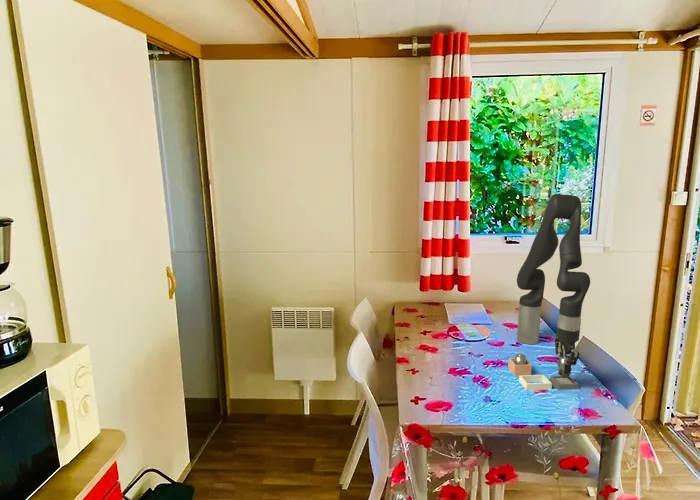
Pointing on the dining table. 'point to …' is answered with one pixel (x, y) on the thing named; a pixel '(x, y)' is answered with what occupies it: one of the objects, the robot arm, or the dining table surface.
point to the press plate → (563, 380)
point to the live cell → (562, 366)
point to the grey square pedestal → (563, 386)
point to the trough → (535, 386)
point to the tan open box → (519, 368)
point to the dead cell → (520, 359)
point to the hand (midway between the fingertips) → (564, 370)
